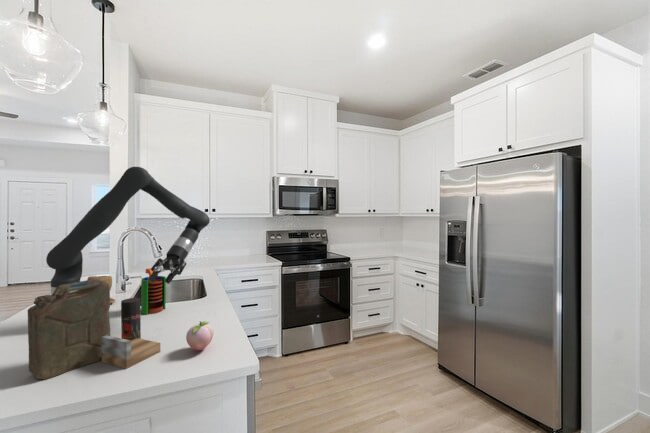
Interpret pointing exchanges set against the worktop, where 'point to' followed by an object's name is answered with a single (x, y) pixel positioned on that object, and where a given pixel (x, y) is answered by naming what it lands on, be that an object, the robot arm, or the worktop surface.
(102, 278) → the stone cup
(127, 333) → the deodorant
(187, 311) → the worktop surface
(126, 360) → the step
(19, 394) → the worktop surface
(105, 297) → the canister
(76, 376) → the worktop surface
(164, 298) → the motor
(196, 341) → the decorative fruit
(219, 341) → the worktop surface
